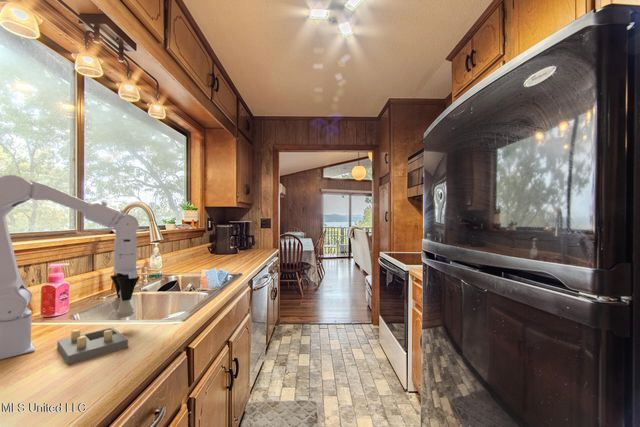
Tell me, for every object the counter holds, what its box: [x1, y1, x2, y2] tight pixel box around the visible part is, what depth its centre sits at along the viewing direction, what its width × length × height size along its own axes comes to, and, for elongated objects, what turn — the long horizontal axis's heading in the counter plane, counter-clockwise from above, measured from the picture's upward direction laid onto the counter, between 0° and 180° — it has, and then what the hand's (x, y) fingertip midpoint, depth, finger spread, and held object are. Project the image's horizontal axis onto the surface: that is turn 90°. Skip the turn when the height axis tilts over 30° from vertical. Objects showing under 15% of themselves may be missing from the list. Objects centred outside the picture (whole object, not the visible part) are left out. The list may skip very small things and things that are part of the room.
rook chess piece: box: [116, 291, 135, 319], centre depth 88 cm, size 4×4×8 cm
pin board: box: [56, 326, 129, 365], centre depth 76 cm, size 13×12×4 cm
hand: (124, 298), depth 88 cm, fingers closed on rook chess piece, 3 cm apart
